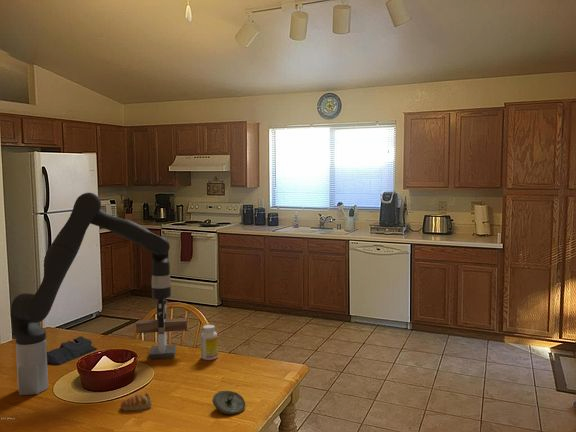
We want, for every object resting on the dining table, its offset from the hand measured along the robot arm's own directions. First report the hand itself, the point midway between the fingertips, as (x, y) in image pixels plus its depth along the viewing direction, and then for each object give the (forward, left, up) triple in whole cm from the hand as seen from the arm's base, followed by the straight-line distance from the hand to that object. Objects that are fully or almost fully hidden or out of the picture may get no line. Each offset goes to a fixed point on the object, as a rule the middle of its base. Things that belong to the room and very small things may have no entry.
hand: (162, 324), depth 200 cm
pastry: (-46, +4, -13) cm, 48 cm away
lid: (-52, -25, -13) cm, 59 cm away
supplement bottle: (-7, -19, -13) cm, 24 cm away
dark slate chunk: (+7, +39, -13) cm, 42 cm away
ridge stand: (0, 0, -12) cm, 12 cm away
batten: (0, 0, -3) cm, 3 cm away
